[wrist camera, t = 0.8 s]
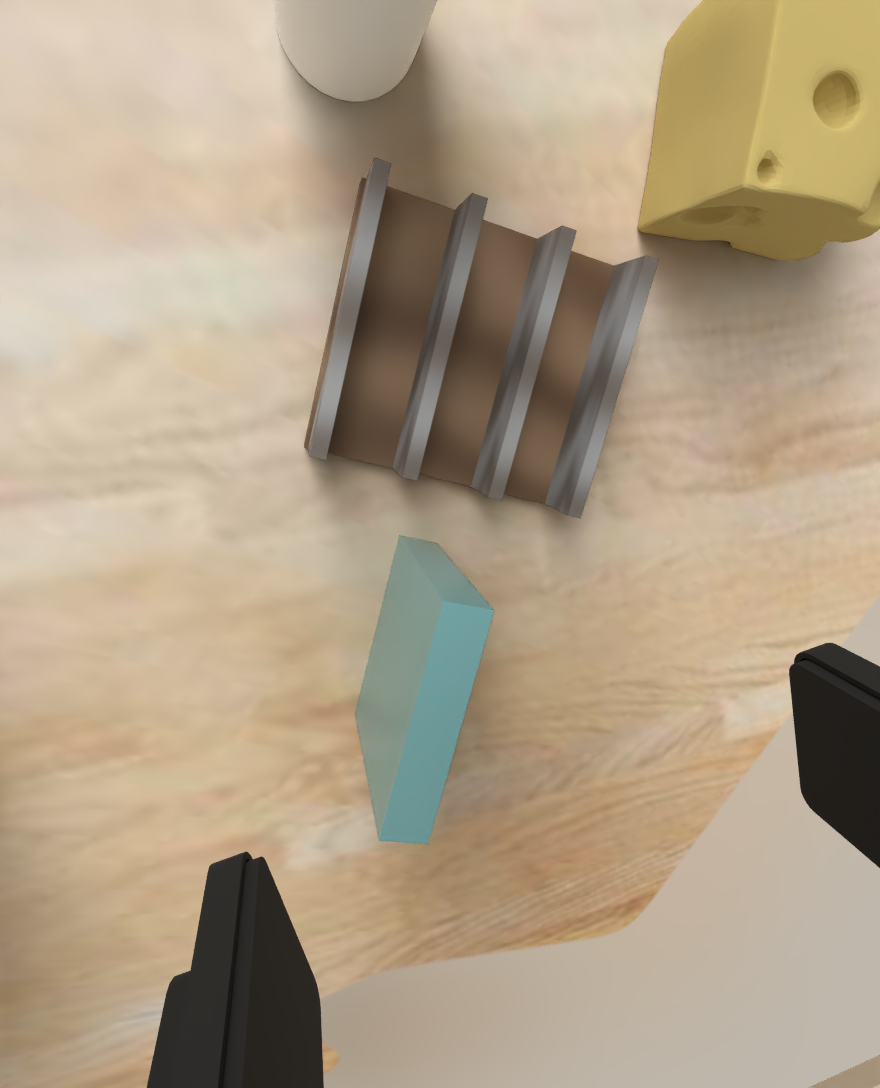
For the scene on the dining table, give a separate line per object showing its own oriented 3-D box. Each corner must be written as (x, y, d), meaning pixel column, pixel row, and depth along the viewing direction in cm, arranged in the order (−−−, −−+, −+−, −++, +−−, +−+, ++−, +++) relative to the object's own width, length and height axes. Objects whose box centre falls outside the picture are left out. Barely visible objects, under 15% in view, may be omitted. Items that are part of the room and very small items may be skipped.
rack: (551, 503, 41) (583, 519, 37) (304, 445, 37) (306, 455, 33) (619, 274, 38) (662, 261, 34) (359, 183, 34) (370, 156, 30)
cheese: (780, 264, 41) (928, 231, 31) (623, 236, 38) (733, 191, 29) (820, 74, 38) (994, -23, 29) (656, 30, 36) (788, -92, 26)
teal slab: (391, 718, 43) (427, 844, 31) (354, 713, 42) (379, 840, 31) (436, 543, 40) (494, 610, 29) (399, 535, 40) (443, 600, 28)
